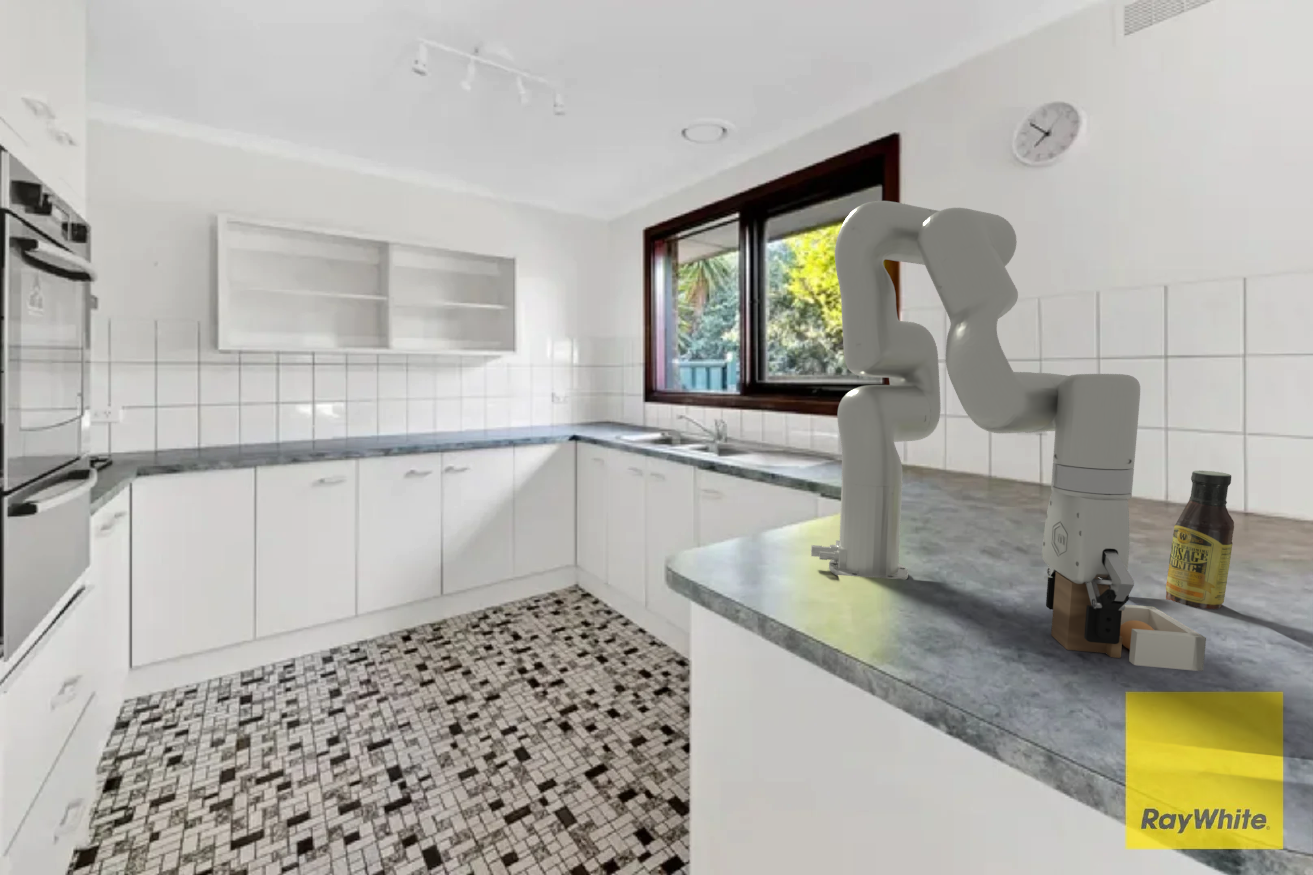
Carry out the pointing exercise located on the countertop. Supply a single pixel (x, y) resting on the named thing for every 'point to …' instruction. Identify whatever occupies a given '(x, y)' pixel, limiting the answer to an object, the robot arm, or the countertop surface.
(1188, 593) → the sauce bottle
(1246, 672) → the countertop surface
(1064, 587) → the board
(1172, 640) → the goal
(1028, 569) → the countertop surface
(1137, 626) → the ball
